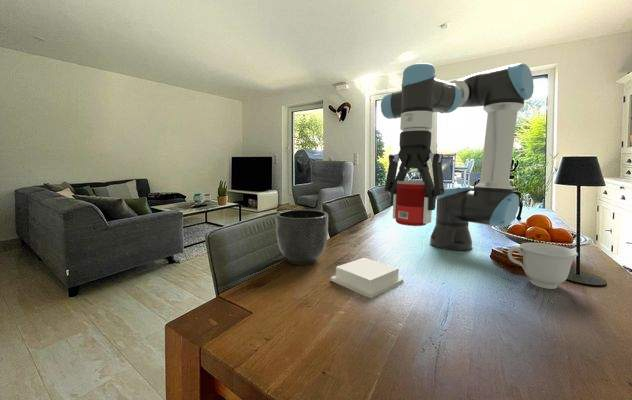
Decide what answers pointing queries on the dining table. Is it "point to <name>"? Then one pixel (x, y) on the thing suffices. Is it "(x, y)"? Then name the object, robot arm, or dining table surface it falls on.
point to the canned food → (410, 202)
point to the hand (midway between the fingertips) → (411, 220)
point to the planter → (302, 235)
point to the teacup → (545, 263)
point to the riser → (367, 277)
